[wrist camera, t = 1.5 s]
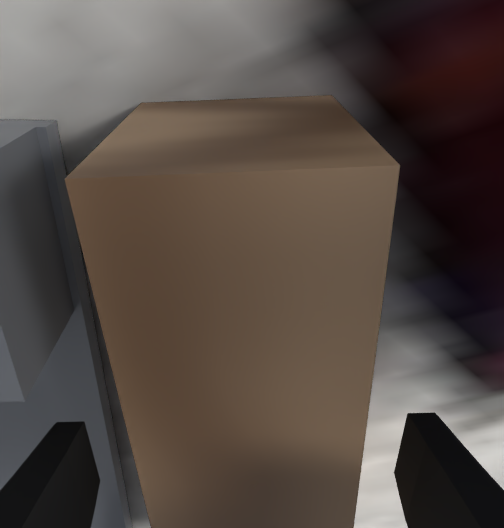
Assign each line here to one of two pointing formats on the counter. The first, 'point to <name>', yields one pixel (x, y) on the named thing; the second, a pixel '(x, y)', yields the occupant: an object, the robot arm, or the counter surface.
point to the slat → (240, 302)
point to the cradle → (48, 317)
